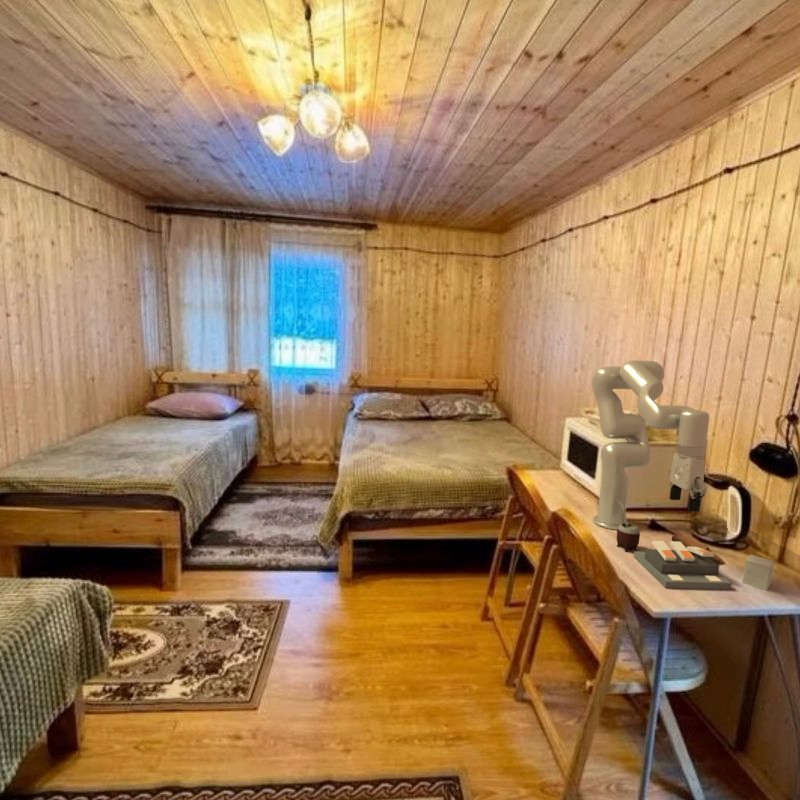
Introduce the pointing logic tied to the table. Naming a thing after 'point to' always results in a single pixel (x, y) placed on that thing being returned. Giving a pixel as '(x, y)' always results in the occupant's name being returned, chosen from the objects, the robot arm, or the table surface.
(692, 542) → the sunglasses case
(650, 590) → the table surface
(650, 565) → the switch panel
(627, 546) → the mate gourd
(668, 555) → the block
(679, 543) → the rocker middle
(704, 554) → the rocker
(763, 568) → the product box
